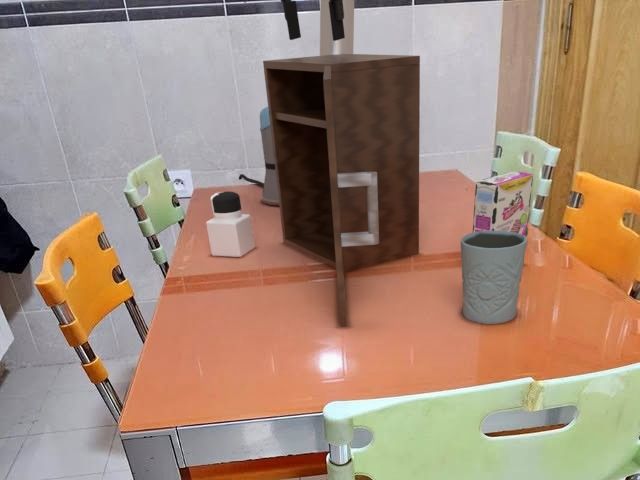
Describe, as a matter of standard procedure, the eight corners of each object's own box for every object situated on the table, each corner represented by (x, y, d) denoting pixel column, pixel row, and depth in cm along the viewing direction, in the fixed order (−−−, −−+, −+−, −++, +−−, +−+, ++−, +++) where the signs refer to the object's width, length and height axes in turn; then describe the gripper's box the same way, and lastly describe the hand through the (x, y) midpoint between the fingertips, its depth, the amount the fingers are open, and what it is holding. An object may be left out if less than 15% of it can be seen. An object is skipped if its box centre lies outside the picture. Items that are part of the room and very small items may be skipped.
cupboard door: (373, 271, 126) (365, 63, 106) (382, 323, 104) (375, 75, 84) (338, 273, 126) (324, 65, 106) (340, 326, 104) (323, 78, 84)
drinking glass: (481, 330, 101) (486, 252, 94) (445, 310, 108) (447, 236, 101) (532, 316, 104) (541, 240, 97) (494, 298, 112) (499, 225, 105)
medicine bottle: (255, 247, 143) (247, 189, 136) (240, 257, 137) (231, 197, 130) (227, 246, 145) (217, 189, 138) (211, 256, 140) (200, 196, 133)
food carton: (490, 280, 119) (497, 184, 109) (468, 275, 122) (473, 181, 112) (525, 265, 125) (534, 172, 115) (503, 260, 128) (511, 169, 118)
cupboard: (344, 273, 126) (331, 64, 106) (283, 243, 145) (262, 60, 124) (418, 254, 133) (420, 55, 113) (352, 228, 152) (342, 53, 132)
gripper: (243, -86, 128) (265, 41, 142) (330, -100, 114) (345, 43, 128) (271, -90, 132) (290, 34, 146) (359, -104, 118) (371, 35, 132)
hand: (316, 39), depth 137 cm, fingers open, 13 cm apart
